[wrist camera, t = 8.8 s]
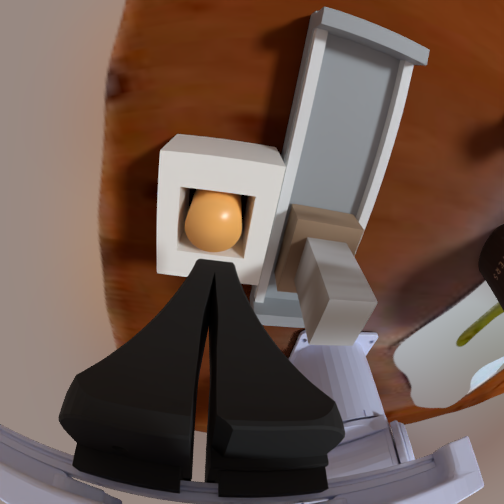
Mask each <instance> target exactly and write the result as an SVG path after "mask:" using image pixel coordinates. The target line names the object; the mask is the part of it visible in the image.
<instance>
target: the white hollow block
mask: <svg viewBox="0 0 504 504" xmlns="http://www.w3.org/2000/svg"><path fill="white" fill-rule="evenodd" d="M285 169H286V166H285V164H284V162H283V160H282V158H281V156H280V154H279V152H278V150H277V148H276V147H272V146H266V145H260V144H254V143H248V142H241V141H234V140H227V139H219V138H211V137H202V136H193V135H182V134H177V135H176V136H175V137H173V138H172V139H171V140H170V141H169V142H168V143H167V144H166V145H165V146H164V147H163V148H162V149H161V150H160V158H159V174H158V196H157V273H161V274H168V275H175V276H183V277H188V275H189V273H190V272H191V270H192V268H193V267H194V265H195V262H196V261H197V260H198V259H208V260H216V261H224V262H232V263H233V264H234V265H235V267H236V271H237V275H238V278H239V280H240V283H241V284H250V285H258V284H259V280H260V276H261V272H262V267H263V263H264V259H265V255H266V251H267V246H268V242H269V238H270V234H271V229H272V225H273V221H274V217H275V212H276V208H277V204H278V199H279V195H280V191H281V186H282V182H283V178H284V173H285ZM190 188H195V189H203V190H211V191H219V192H227V193H234V194H241V195H248V198H247V203H246V209H245V214H244V220H243V223H242V232H241V235H240V238H239V240H238V241H237V242H236V244H235V245H233V246H232V247H231V248H229V249H227V250H225V251H221V252H207V251H203V250H201V249H199V248H197V247H196V246H194V245H193V244H192V243H191V242H190V240H189V239H188V237H187V235H186V232H185V220H186V217H187V214H188V205H189V194H190Z"/></svg>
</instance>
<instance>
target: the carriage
mask: <svg viewBox="0 0 504 504" xmlns="http://www.w3.org/2000/svg"><path fill="white" fill-rule="evenodd" d="M363 232H364V229H363V228H362V226H361V225H360V223H359V222H358V221H357V219H356V218H355V216H354V215H353V214H349V213H343V212H338V211H333V210H327V209H322V208H316V207H310V206H304V205H298V204H292V206H291V210H290V214H289V217H288V221H287V225H286V229H285V233H284V237H283V241H282V244H281V248H280V252H279V256H278V259H277V263H276V267H275V271H274V273H275V280H276V286H277V291H280V292H290V293H297V295H298V299H299V304H300V308H301V312H302V317H303V321H304V326H305V330H306V335H307V339H308V344H309V345H336V346H353V344H354V343H355V341H356V339H357V338H358V336H359V334H360V333H361V331H362V329H363V328H364V326H365V324H366V322H367V321H368V319H369V317H370V315H371V314H372V312H373V310H374V308H375V306H376V305H377V303H378V302H377V300H376V298H375V296H374V294H373V292H372V290H371V288H370V286H369V284H368V282H367V280H366V278H365V276H364V274H363V273H362V271H361V269H360V267H359V265H358V263H357V261H356V259H355V258H354V255H355V252H356V250H357V247H358V245H359V242H360V240H361V237H362V235H363Z"/></svg>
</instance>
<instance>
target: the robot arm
mask: <svg viewBox="0 0 504 504" xmlns="http://www.w3.org/2000/svg"><path fill="white" fill-rule="evenodd" d="M208 327H209V358H210V391H209V408H208V425H207V444H206V445H207V446H206V464H205V482H194V481H191V479H192V464H193V446H194V429H195V414H196V401H197V388H198V379H199V373H200V367H201V362H202V357H203V352H204V347H205V342H206V337H207V332H208ZM377 338H378V335H377V333H375V332H361V333H360V334H359V336H358V338H357V339H356V341H355V343H354V344H353V346H336V345H309V344H308V339H307V335H306V330H304V331H302V332H301V333H300V334H299V337H298V339H297V341H296V343H295V346H294V348H293V350H292V353H291V355H290V357H289V359H288V358H287V357H286V356H285V355H284V354H283V353H282V352H281V350H280V349H279V348H278V347H277V345H276V344H275V343H274V341H273V340H272V339H271V337H270V336H269V334H268V333H267V332H266V330H265V329H264V327H263V326H262V324H261V322H260V321H259V319H258V317H257V316H256V314H255V312H254V310H253V309H252V307H251V305H250V303H249V301H248V299H247V297H246V295H245V292H244V290H243V288H242V285H241V283H240V280H239V278H238V275H237V271H236V267H235V265H234V264H233V263H232V262H224V261H216V260H208V259H198V260H197V261H196V262H195V265H194V267H193V268H192V270H191V272H190V273H189V275H188V277H187V278H186V280H185V281H184V282H183V284H182V285H181V287H180V288H179V289H178V291H177V292H176V293H175V295H174V296H173V297H172V298H171V300H170V301H169V302H168V303H167V304H166V305H165V307H164V308H163V309H162V310H161V311H160V312H159V313H158V314H157V315H156V316H155V318H154V319H153V320H151V321H150V322H149V323H148V324H147V325H146V326H145V327H144V328H143V329H142V330H141V331H140V332H139V333H137V334H136V335H135V336H134V337H133V338H132V339H130V340H129V341H128V342H127V343H125V344H124V345H123V346H121V347H120V348H118V349H117V350H116V351H115V352H113V353H112V354H110V355H109V356H107V357H106V358H104V359H103V360H101V361H100V362H98V363H96V364H95V365H93V366H91V367H90V368H88V369H86V370H85V371H83V372H81V373H79V374H77V375H76V376H75V378H74V380H73V382H72V384H71V385H70V387H69V389H68V391H67V393H66V396H65V399H64V402H63V405H62V408H61V412H60V414H59V422H60V424H61V425H62V427H63V428H64V429H65V431H66V432H67V433H68V434H69V435H70V436H71V437H72V438H73V439H74V440H75V441H76V442H77V446H76V450H75V455H74V456H73V455H70V454H67V453H64V452H62V451H59V450H56V449H54V448H51V447H49V446H46V445H44V444H41V443H39V442H37V441H34V440H32V439H29V438H27V437H25V436H23V435H21V434H19V433H17V432H15V431H13V430H11V429H9V428H7V427H4V426H3V425H1V424H0V499H1V500H2V501H3V502H5V503H6V504H122V501H121V500H119V499H117V498H114V497H112V496H110V495H108V494H106V493H105V492H104V491H103V490H101V489H98V488H95V487H93V486H90V485H87V484H85V483H82V482H79V481H77V480H74V479H73V478H72V477H74V478H77V479H80V480H83V481H86V482H90V483H92V484H96V485H99V486H103V487H106V488H110V489H114V490H118V491H122V492H126V493H130V494H135V495H140V496H145V497H151V498H156V499H162V500H168V501H176V502H184V503H194V504H457V503H458V502H460V501H462V500H463V499H465V498H467V497H468V496H470V495H472V494H473V493H474V492H477V491H478V490H480V489H481V488H483V487H484V483H483V479H482V476H481V473H480V469H479V466H478V463H477V460H476V457H475V454H474V451H473V449H472V446H471V443H470V440H469V437H468V436H465V437H463V438H461V439H458V440H455V441H453V442H450V443H448V444H446V445H444V446H442V447H441V448H439V449H438V450H436V451H435V452H434V453H433V454H430V455H427V456H424V457H422V458H419V459H415V458H414V454H413V451H412V447H411V444H410V441H409V438H408V434H407V431H406V428H405V426H404V424H403V423H400V422H398V421H397V420H395V421H393V422H391V423H390V425H391V428H390V426H389V423H388V421H387V418H386V416H385V414H384V411H383V407H382V404H381V401H380V398H379V395H378V392H377V389H376V386H375V383H374V380H373V377H372V374H371V371H370V368H369V365H368V362H367V359H366V355H367V353H368V352H369V350H370V349H371V347H372V346H373V344H374V343H375V341H376V340H377ZM391 429H392V432H393V433H392V432H391ZM392 434H393V435H392ZM393 438H394V439H393Z"/></svg>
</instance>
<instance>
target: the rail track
mask: <svg viewBox="0 0 504 504" xmlns="http://www.w3.org/2000/svg"><path fill="white" fill-rule="evenodd" d="M428 56H429V49H427V48H425V47H423V46H421V45H419V44H417V43H416V42H414V41H412V40H410V39H407V38H405V37H403V36H401V35H399V34H397V33H395V32H392V31H390V30H388V29H386V28H383V27H381V26H379V25H376V24H374V23H371V22H369V21H366V20H363V19H361V18H358V17H355V16H352V15H350V14H347V13H344V12H341V11H338V10H334V9H331V8H328V7H323V8H322V9H321V10H320V11H315V12H314V13H313V14H311V17H310V22H309V27H308V32H307V37H306V42H305V46H304V51H303V56H302V61H301V66H300V70H299V75H298V80H297V84H296V89H295V94H294V99H293V103H292V108H291V113H290V117H289V122H288V127H287V131H286V136H285V140H284V145H283V150H282V154H281V158H282V160H283V162H284V164H285V166H286V169H285V173H284V178H283V182H282V186H281V191H280V195H279V199H278V204H277V208H276V212H275V217H274V221H273V225H272V229H271V234H270V238H269V242H268V246H267V251H266V255H265V259H264V263H263V267H262V272H261V276H260V280H259V284H258V285H252V289H251V294H250V305H251V307H252V309H253V310H254V312H255V314H256V316H257V317H258V319H259V321H260V322H261V324H262V325H269V326H282V327H298V328H305V326H304V321H303V317H302V312H301V308H300V304H299V299H298V295H297V293H290V292H280V291H277V286H276V280H275V273H274V271H275V267H276V263H277V259H278V256H279V252H280V248H281V244H282V241H283V237H284V233H285V229H286V225H287V221H288V217H289V214H290V210H291V206H292V204H298V205H304V206H310V207H316V208H322V209H327V210H333V211H338V212H343V213H349V214H353V215H354V216H355V218H356V219H357V221H358V222H359V223H360V225H361V226H362V228H363V229H364V230H365V227H366V225H367V222H368V219H369V217H370V214H371V211H372V209H373V206H374V203H375V200H376V197H377V194H378V192H379V189H380V186H381V183H382V180H383V177H384V174H385V171H386V167H387V164H388V161H389V158H390V155H391V151H392V148H393V145H394V141H395V138H396V134H397V131H398V127H399V124H400V120H401V116H402V112H403V109H404V105H405V101H406V97H407V92H408V88H409V84H410V80H411V75H412V70H413V66H414V65H427V61H428ZM363 233H364V232H363ZM361 238H362V237H361ZM359 243H360V242H359ZM357 248H358V247H357ZM355 253H356V252H355Z"/></svg>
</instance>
